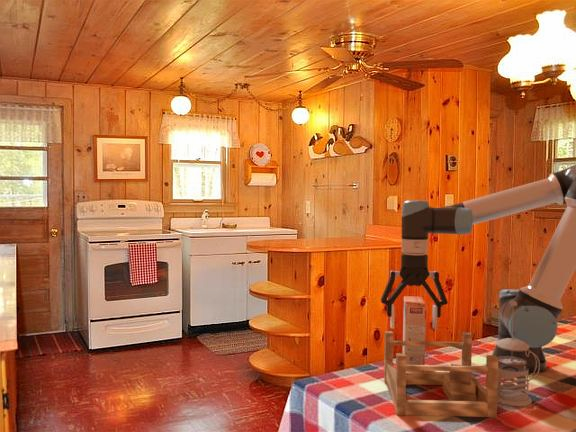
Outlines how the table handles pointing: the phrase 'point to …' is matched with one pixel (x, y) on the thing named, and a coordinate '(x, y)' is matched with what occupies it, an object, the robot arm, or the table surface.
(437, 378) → the rack
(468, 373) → the offcut
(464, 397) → the offcut
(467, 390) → the offcut
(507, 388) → the french press
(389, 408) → the table surface
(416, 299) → the cracker box
